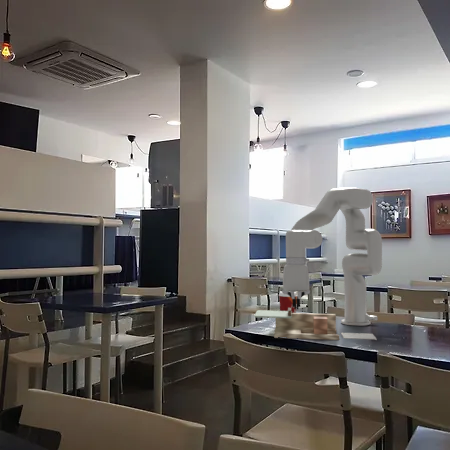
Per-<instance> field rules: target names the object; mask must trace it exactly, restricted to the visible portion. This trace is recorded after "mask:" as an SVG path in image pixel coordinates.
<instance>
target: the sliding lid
mask: <svg viewBox="0 0 450 450" xmlns="http://www.w3.org/2000/svg"><path fill="white" fill-rule="evenodd" d="M254 318H259V319H260V318H261V319H262V318H264V319H268V318H269V319H275V318H291V308H288V311H280V310H270V309H269V310H268V309H265V310H263V309H258V310H256V312H255V314H254Z"/></svg>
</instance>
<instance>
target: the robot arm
mask: <svg viewBox="0 0 450 450" xmlns="http://www.w3.org/2000/svg"><path fill="white" fill-rule="evenodd" d="M373 203H374V196H373V193H372V192H371V191H370V190H368V189H366V188H358V187H352V186H350V187H339V188H338V187H336V188H331V189H329V190H328V191H327V192H326V193H324V196H323V197H322V198H321V200H320V201H319V203H318V205H317V206H316V207H315V209H313V210H312V211H310V212H309V213H307V214H306V215H304V216H303V217H301V218H300V219H299V220H297V222H295V223H294V225H293V226H292V227H291V229H290V230H288V231H286V232H285V265H284V266H283V273H282V291H281V292H282V293H283V294H287V295H289V296H290V297H291V298H292V302H293V307H294V309H296V310H299V309H300V308H301V299H302V297H304V296H305V295H309V294H311V290H310V273H309V267H308V265H307V263H310V259H309V258H307V257H306V249H317V248H319V247H320V246H321V245H322V243H323V236H322V233H321V232H320V231H318V230H316V229H318V228H322V227H325V226H326V225H329V224H331V222H333V220H334V219H335V217H336V216H337V214H338V213H339V211H341V212H342V215H343V216H344V219H345V245H346V248H348V249H349V250H350V251H366V252H367V253H359V252H354V253H353V252H352V253H347V254H345V255H344V256H343V258H342V261H341V267H342V271H343V272H342V273H343V278H344V279H343V280H344V318H343V319H341V320H340V323H341V324H343V325H346V326H347V325H348V326H356V327H357V326H361V327H362V326H363V327H364V326H369V325H371V321H378V316H377V315H369V314H368V313H367V283H366V281H365V277H364V276H377V275H379V274H380V273H381V270H382V265H383V238H382V235H381V233H380V232H379V231H378V230H376V229H375V228H366V218H365V215H364V213H363V212H362V210H366V209H369V208H371V207H372V204H373ZM294 292H297V295H298V296H297V299H296V297H295V295H294ZM296 301H297V304H296Z"/></svg>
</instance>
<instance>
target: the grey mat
mask: <svg viewBox="0 0 450 450" xmlns="http://www.w3.org/2000/svg"><path fill="white" fill-rule="evenodd" d="M340 334H341V336H342V338H343V339H346V340H347V339H349V340H350V339H351V340H353V339H354V340H375V341H377V339H378V338H377V337H376V336H375V335H374V334H373V333H366V332H365V333H363V332H362V333H361V332H359V333H356V332H341V333H340Z"/></svg>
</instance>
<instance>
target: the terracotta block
mask: <svg viewBox="0 0 450 450" xmlns="http://www.w3.org/2000/svg"><path fill="white" fill-rule="evenodd" d="M313 332H314V334H327V317H313Z"/></svg>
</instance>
